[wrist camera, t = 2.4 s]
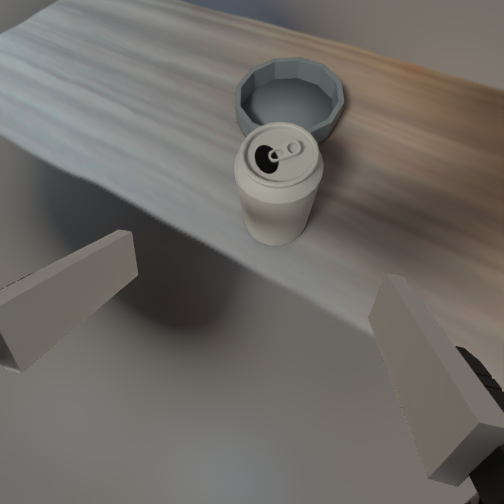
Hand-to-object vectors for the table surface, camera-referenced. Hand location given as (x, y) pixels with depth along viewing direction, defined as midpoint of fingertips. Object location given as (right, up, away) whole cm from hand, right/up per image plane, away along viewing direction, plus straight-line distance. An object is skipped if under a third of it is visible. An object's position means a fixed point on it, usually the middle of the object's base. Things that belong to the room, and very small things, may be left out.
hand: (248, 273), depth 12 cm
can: (+3, +5, +17) cm, 18 cm away
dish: (+5, +21, +23) cm, 32 cm away
